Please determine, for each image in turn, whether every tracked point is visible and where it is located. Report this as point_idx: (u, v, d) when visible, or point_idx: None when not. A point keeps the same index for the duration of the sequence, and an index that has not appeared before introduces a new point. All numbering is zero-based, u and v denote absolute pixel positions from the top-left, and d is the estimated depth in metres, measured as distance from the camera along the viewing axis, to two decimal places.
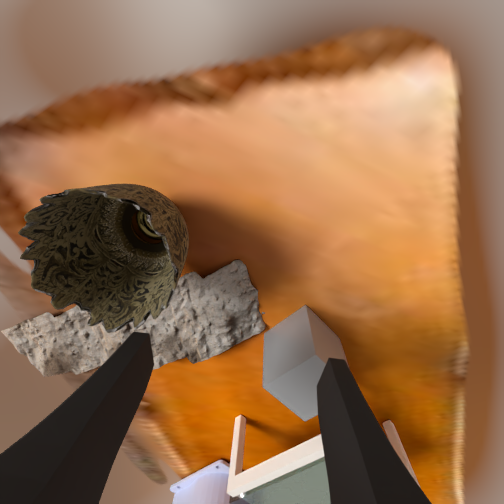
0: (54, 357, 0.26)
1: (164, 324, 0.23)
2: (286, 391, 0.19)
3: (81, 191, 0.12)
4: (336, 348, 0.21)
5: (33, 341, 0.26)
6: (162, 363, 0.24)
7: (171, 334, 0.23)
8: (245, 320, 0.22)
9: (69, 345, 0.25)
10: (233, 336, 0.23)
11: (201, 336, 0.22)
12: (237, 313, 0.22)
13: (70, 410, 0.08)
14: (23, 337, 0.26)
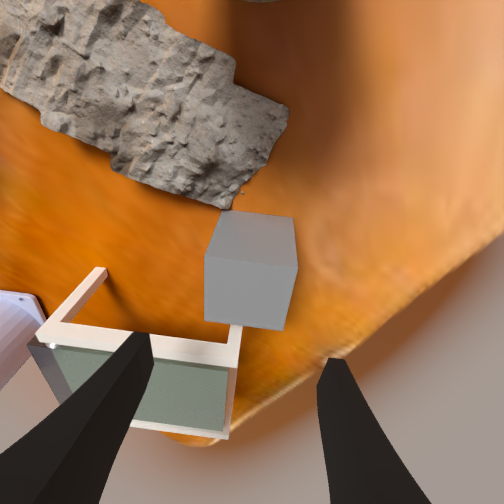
0: None
1: (120, 84, 0.13)
2: (223, 280, 0.14)
3: None
4: None
5: None
6: (65, 131, 0.14)
7: (119, 107, 0.14)
8: (222, 180, 0.16)
9: None
10: (192, 185, 0.16)
11: (159, 148, 0.14)
12: (224, 165, 0.15)
13: (70, 410, 0.08)
14: None
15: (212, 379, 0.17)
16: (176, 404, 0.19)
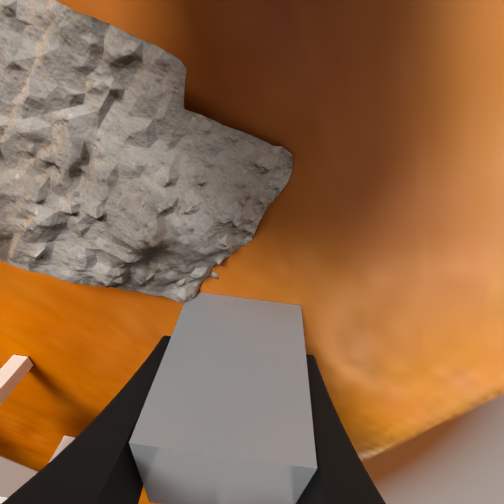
0: None
1: None
2: (172, 469, 0.07)
3: None
4: None
5: None
6: None
7: None
8: (177, 266, 0.09)
9: None
10: (126, 274, 0.09)
11: (52, 223, 0.08)
12: (177, 246, 0.09)
13: (114, 416, 0.08)
14: None
15: None
16: None
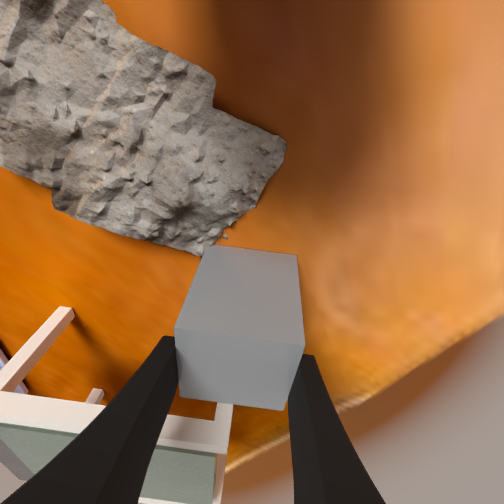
0: None
1: (59, 101, 0.10)
2: (202, 355, 0.10)
3: None
4: None
5: None
6: None
7: (58, 131, 0.10)
8: (199, 225, 0.13)
9: None
10: (160, 230, 0.12)
11: (114, 186, 0.11)
12: (201, 208, 0.12)
13: (113, 416, 0.08)
14: None
15: (195, 463, 0.14)
16: (153, 482, 0.16)
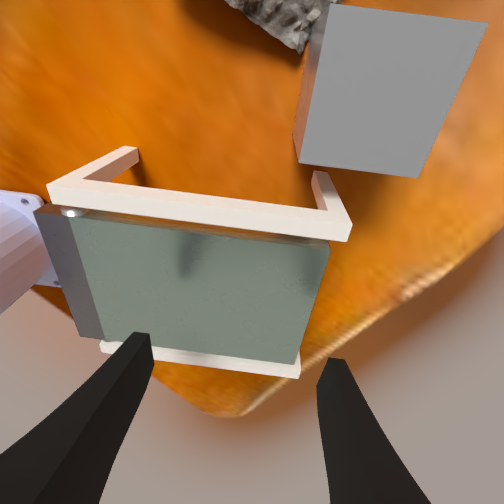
0: None
1: None
2: (350, 64, 0.09)
3: None
4: None
5: None
6: None
7: None
8: None
9: None
10: None
11: None
12: None
13: (70, 410, 0.08)
14: None
15: (302, 267, 0.12)
16: (238, 318, 0.14)
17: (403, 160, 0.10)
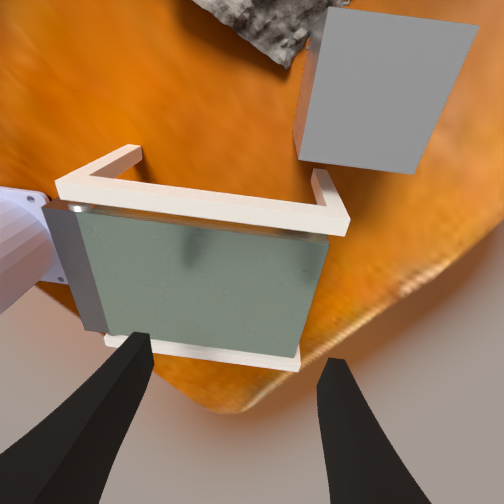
0: None
1: None
2: (347, 64, 0.09)
3: None
4: None
5: None
6: None
7: None
8: (291, 15, 0.12)
9: None
10: (250, 16, 0.12)
11: None
12: None
13: (70, 410, 0.08)
14: None
15: (302, 261, 0.12)
16: (240, 312, 0.14)
17: (399, 157, 0.11)
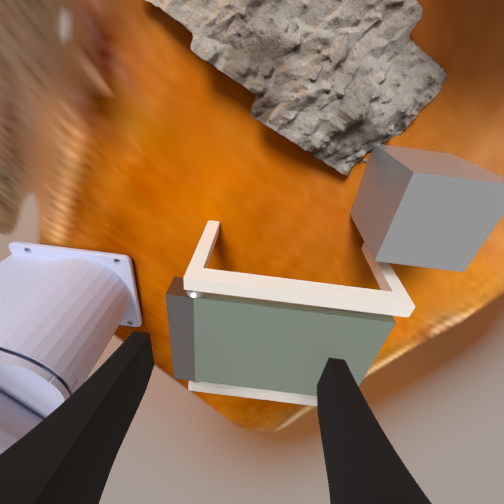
0: None
1: (292, 17, 0.12)
2: (422, 205, 0.12)
3: None
4: None
5: None
6: (214, 61, 0.13)
7: (284, 43, 0.13)
8: (357, 143, 0.15)
9: None
10: (326, 144, 0.15)
11: (314, 95, 0.13)
12: (367, 126, 0.15)
13: (70, 411, 0.08)
14: None
15: (371, 333, 0.15)
16: (312, 367, 0.17)
17: (454, 261, 0.14)
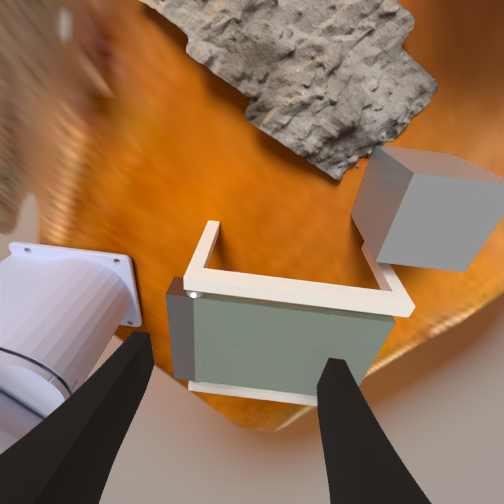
0: None
1: (287, 23, 0.12)
2: (423, 206, 0.12)
3: None
4: None
5: None
6: (209, 65, 0.13)
7: (279, 48, 0.13)
8: (349, 149, 0.15)
9: None
10: (319, 149, 0.15)
11: (308, 101, 0.13)
12: (359, 132, 0.15)
13: (70, 411, 0.08)
14: None
15: (371, 333, 0.15)
16: (312, 367, 0.17)
17: (454, 261, 0.14)
